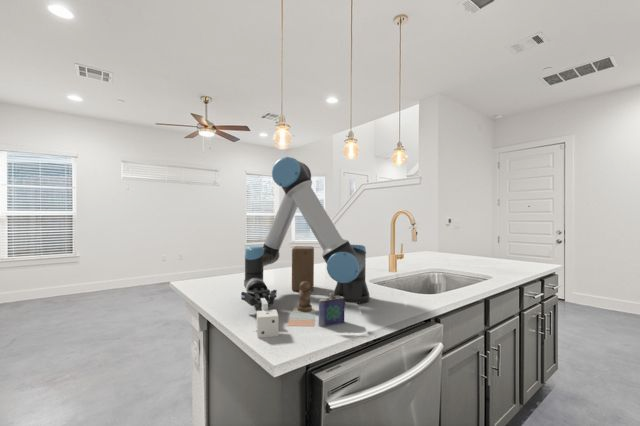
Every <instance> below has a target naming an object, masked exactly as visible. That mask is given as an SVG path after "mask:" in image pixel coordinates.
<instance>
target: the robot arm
mask: <svg viewBox="0 0 640 426" xmlns="http://www.w3.org/2000/svg"><path fill="white" fill-rule="evenodd" d="M271 177H272V180H273V181H274V183H275V184H276V185H277V186H279V187H281V188H282V190H283V192H284V195H283V197H282V200H281V202H280V205H279V206H278V209H277V212H276V214H275V216H274V219H273V222H272V223H271V226H270V229H269V231H268V233H267V236H266V238H265V241H264V244H263V245H252V246H251V245H250V246H247V247H246V248H245V252H244V280H243V282H244V283H243V285H244V288H245V290H246V291H242V292H241V294H240V295H241V296H240V297H241V300H242V301H245V302H246V303H247V304H249V306H251V307H255V305H256V308H257V309H261V311H263V310H269V307H270V306H271V305H274V302H275V301H274V300H275V299H276V298H277V289H273V290H270V289H268V286H267V284H266V283H265V282H264V267H266V266H268V265H272V264H274V263H275V262H277V261H278V260H279V259H280V249H281V248H282V247H281V246H282V244H283V243H284V240H285V238H286V235H287V233H288V231H289V229H290V226H291V223H292V221H293V219H294V216H295V214H296V213H297V210H299V211H300V213H301V215H302V217H303V218H304V220H305V221H306V224H307V226H308V227H309V228H310V230H311V232H312V233H313V236H314V237H315V239H316V240H317V241H318V244H319V245H320V247H321V249H322V255H321V256H322V258H323V260H324V262H325V264H326V271H327V274H328V275H329V277H330V278H331V279H332V280H333V281H335V282H336V286H335V288H334V290H333V291H334V292H333V295H334V296H337V297H338V296H342V297H344V298H345V303H356V304H357V305H358V304H366V303H368V302H369V301H370V300H369V299H370V298H371V297H370V292H369V288H368V285H367V282H366V273H367V272H366V262H367V261H366V260H367V259H366V254H367V251H366V246H364V245H361V244H351V243H350V241H349V240H348V239H344V238H343V237H342V236H341V234H340V233H339V230H338V229H337V228H336V225H335V224H334V223H333V221H332V219H331V218H330V215H328V213H327V211H326V209H325V207H324V206H323V205H322V203H321V201H320V200H319V198H318V196H317V195H316V193H315V192H314V189H313V188H312V184H313V181H312V173H311V169H310V168H309V165H307V164H305V163H304V162H302V161H299V160H297V159H296V158H295V157H289V156H284V157H281V158H279V159H278V160H276V162H275V163H274V165H273V166H272V170H271Z"/></svg>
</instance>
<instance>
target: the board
mask: <svg viewBox="0 0 640 426" xmlns="http://www.w3.org/2000/svg"><path fill="white" fill-rule="evenodd" d="M316 313H317V307H314V306H312V310H311V311H308V312H301V311H298V306H294V307H293V309H292V312H291V315H290V317H289V320H288V323H287V327H315V323H316V320H315V319H316Z"/></svg>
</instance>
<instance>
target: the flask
mask: <svg viewBox="0 0 640 426" xmlns="http://www.w3.org/2000/svg"><path fill="white" fill-rule="evenodd" d="M345 307H346V302H345V298H344V297H342V296H338V297H337V296H334V292H329V293H328V297H326V298H321V299H320V298H319V300H318V327H320V328H325V327H329V326H332V325H340V324H344V323H345V309H346V308H345Z"/></svg>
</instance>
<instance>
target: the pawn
mask: <svg viewBox="0 0 640 426" xmlns="http://www.w3.org/2000/svg"><path fill="white" fill-rule="evenodd" d="M299 288H300V290H299V291H298V292H299V293H298V294H299V295H298V297H299V298H298V299H299V300H298V301H299V302H298V303H299V304H298V305H297V307H298V311H301V312H308V311H311V310H312V307H313V305H312V304H311V291H310V284H309V282H307V281H303V282H301V283H300V286H299Z"/></svg>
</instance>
